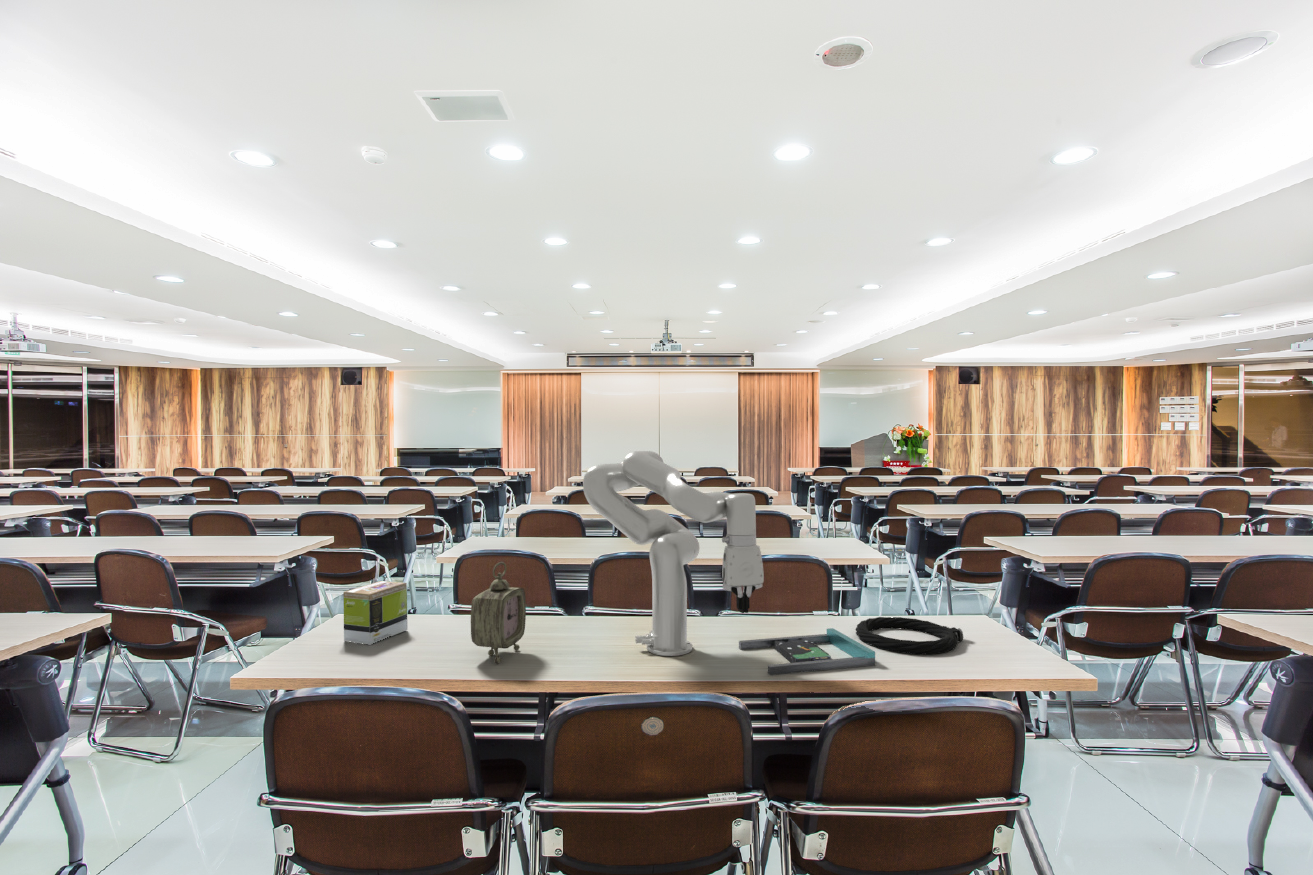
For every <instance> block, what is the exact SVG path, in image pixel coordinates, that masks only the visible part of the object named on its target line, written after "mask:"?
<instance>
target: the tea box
mask: <svg viewBox="0 0 1313 875" xmlns="http://www.w3.org/2000/svg"><path fill="white" fill-rule="evenodd" d="M407 584H408V583H407V582H401V581H400V582H398V581H386V580H379V581H377V582H376V581H375V582H372V583H369V584H366V585H363V586H359V587H356V588H352V589H349V590H345V591H343V641H344V642H345V641H351V642H355V643H354V644H357V643H361V644H360V645H364V644H368V646H371V645H373V643H374V644H376V643H378V642H377V641H379V642H381V641H384V640H386V639H388V638H390V637H389V636H391V637H394V636H396V635H399V634H400V633H403V632H405V631H408V590H407V589H408V588H407V587H408V585H407ZM387 637H388V638H387ZM385 638H386V639H385ZM383 639H384V640H383ZM380 640H381V641H380ZM375 642H376V643H375ZM362 643H363V644H362Z"/></svg>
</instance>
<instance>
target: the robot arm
mask: <svg viewBox="0 0 1313 875" xmlns="http://www.w3.org/2000/svg"><path fill="white" fill-rule="evenodd" d="M681 478H682V477H681V473H680V470H678V469H676V468H675V467H673V466H671V465H669V464H667V463H666V462H664V460H663V458H662V457H661V455H660V454H658V453H656V452H655V451H651V450H638V451H637V450H636V451H631V452H630V453H628V454H627V455H625V456H624V458H623V460H622V462H619V463H603V464H602V463H600V464H596V465H593V466H591V467H590V468H589V469H588V470H587V471H586V472H585V474H584V476H583V479H582V489H583V494H584V496H585V500H586V501H587V503H588V504H589V505H590V507H592V509H593V510H595V512H597V513H598V514H599V515H600V516H602V517H603V518H604V519H606V520H607V521H608V522H609V523H610V524H611V525H613V526H614V527H615V528H616V529H617V530H618V531H620V532H621V533H622V534H623V535H624V536H625V537H627V538H628V539H629V540H630V541H632V543H634V544H636V545H640V546H644V545H649V544H651V545H650V549H649V553H648V554H649V562H650V563H649V564H650V569H651V579H652V581H651V582H652V589H651V590H652V595H651V596H652V598H651V599H652V601H651V602H652V605H651V607H652V609H651V610H652V611H651V612H652V613H651V614H652V615H651V616H652V619H651V620H652V626H651V627H652V628H651V629H652V630H649V633H647V634H646V635H635V638H634V639H635V640H634V641H635V644H641V645H642V646H643V645H646V649H647V651H648V652H649V653H651V654H653V655H655V656H656V655H657V656H663V657H676V656H677V657H678V656H683V655H686V654H689V653H691V652H692V651H693V643H691V642H690V641H688V640H687V639H688V638H687V636H688V633H687V632H688V628H687V627H688V622H687V621H688V616H687V615H688V611H687V610H688V603H687V602H688V599H687V598H688V587H687V584H688V583H687V577H686V572H685V568H684V566H685V565H687V564H690V563H691V562H693V561H694V560H696V559H697V557H698V556H699V553H700V542H699V541H698V540H699V539H698V538H697V537H696V536H695V534H694V533H693V532H692V531H691V530H689V529H688V528H687V527H685V526H684V525H683V524H682V523H680V522H679V521H678V520H676V519H675V518H674V517H673V516H671V514H669V513H667V512H665V511H663V510H661V509H657V508H653V509H652V508H651V509H645V510H644V509H643V508H641V507H639V506H637V505H636V504H635V503H634V502H632V500H630V499H628V498H627V497H625V496H624V495H622V494H620V493H618V492H622V491H623V492H624V491H627V490H630V489H632V488H635V487H638V486H642V487H644V488H646V489H648V490H649V491H651V492H653V493H656V495H659V496H661V497H662V498H664V501H666V502H667V503H668V504H669V506H671V507H672V508H673V509H674V510H676V511H678V512H679V513H681V514H683V515H685V516H686V517H689V518H690V519H692V520H694V521H697V522H700V523H704V524H706V523H707V524H708V523H712V522H715V521H720V520H725V519H726V536H723V537H722V538H721V541H722V543H725V544H726V545H725V546H724V551H723V557H722V572H721V573H722V574H721V577H722V578H721V579H722V583H723V584H722V587H721V588H722V589H723V590H724V591H726V592H727V591H728V592H732V593H733V594H734V595H735V597H736V598H735V599H736V600H735V601H736V609H737V611H738V612H740V613H741V614H748V613H749V609H750V598H751V596H752V594H753V593H754V591H755V590H758V589H761V588H763V586H764V585H763V583H764V581H765V580H764V579H765V578H764V577H765V576H764V575H765V574H764V573H765V572H764V563H763V556H762V551H761V548H760V546H759V545H757V522H756V521H757V520H756V519H757V517H756V516H757V515H756V514H757V513H756V499H755V498H756V497H755V496H754V495H753V494H752V493H744V492H742V493H741V492H739V493H738V492H737V493H729V492H723V491H714V492H712V491H711V492H703V491H702V492H701V491H700V490H698V489H696V488H694V487H692V486H691V485H689V484H687V483H686V482H684V480H682V479H681Z"/></svg>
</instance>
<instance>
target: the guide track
mask: <svg viewBox="0 0 1313 875" xmlns="http://www.w3.org/2000/svg"><path fill="white" fill-rule="evenodd" d="M789 640H810V641H812V642H813V643H814V644H816V645H817V644H826V643H829V644H831V645H833V646H835V647H836V648H838V649H839V650H841V651H843V652H844V653H846V654H848V655H849V656H851V657H845V658H844V657H843V658H832V659H829V660H818V661H807V662H796V663H790V662H787V663H777V664H776V663H775V664H774V663H773V664H767V674H768V675H769V676H777V675H788V674H798V673H808V672H809V673H810V672H820V671H829V670H840V669H841V670H842V669H852V668H863V667H864V668H865V667H873V666H874V667H875V666H876V651H874V650H873V649H871V648H869V647H867V646H866V645H864V644H862V643H860V642H858V641H856V640H855V639H853V638H851V637H850V636H847V635H846V634H844V633H842V632H840V631H839V630H837V629H835V628H833V627H832V628H829V627H828V628H826V633H823V634H809V635H807V634H806V635H796V636H795V635H794V636H783V637H782V636H781V637H771V638H758V639H757V638H756V639H745V640H738V649H739V650H742V651H743V650H751V649H752V650H753V649H754V650H755V649H767V648H775V641H783V642H788V641H789Z"/></svg>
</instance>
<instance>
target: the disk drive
mask: <svg viewBox="0 0 1313 875" xmlns="http://www.w3.org/2000/svg"><path fill="white" fill-rule="evenodd" d="M774 650H775V651H776V652H777V653H779V655H781V656H782V657H783V658H784V659H786V660H787V662H788V663H796V662H807V661H818V660H829V659H833V658H832V657H831V654H830V653H828V652H827V651H825V649H822V648H821V647H820V646H818V645H817V644H814V643H813V642H812V641H810V640H789V641H788V642H783V641H775V647H774Z"/></svg>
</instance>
